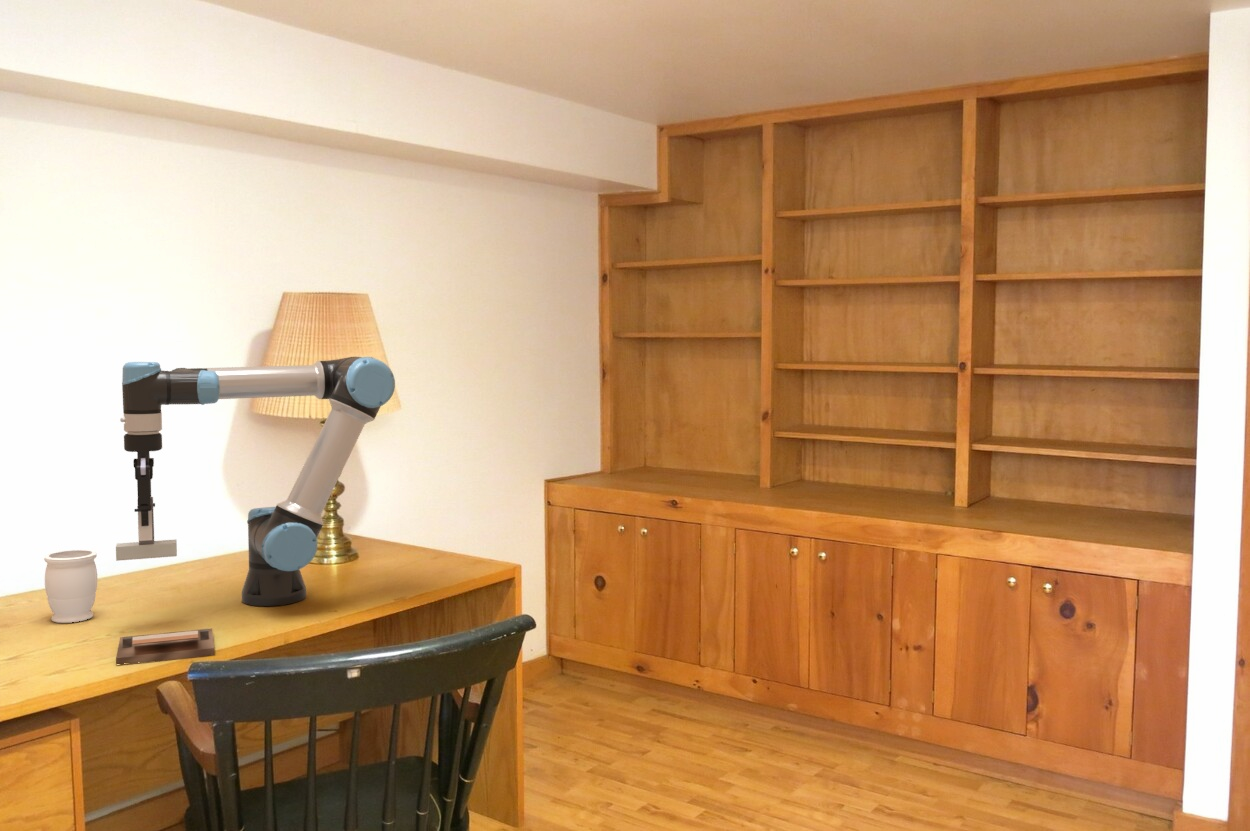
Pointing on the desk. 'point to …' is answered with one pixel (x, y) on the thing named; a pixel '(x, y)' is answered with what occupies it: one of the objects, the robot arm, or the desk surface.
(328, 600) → the desk surface
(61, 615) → the jar
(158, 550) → the paddle
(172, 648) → the board
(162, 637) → the tile
